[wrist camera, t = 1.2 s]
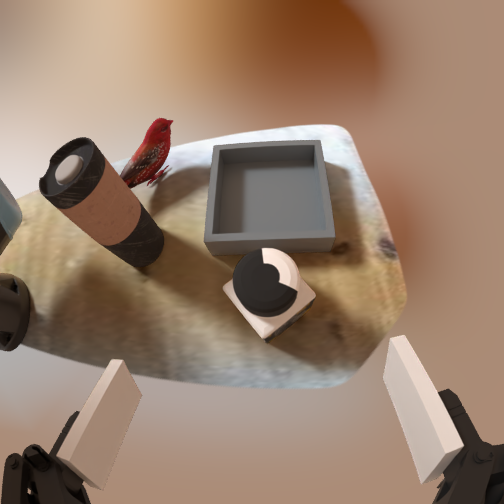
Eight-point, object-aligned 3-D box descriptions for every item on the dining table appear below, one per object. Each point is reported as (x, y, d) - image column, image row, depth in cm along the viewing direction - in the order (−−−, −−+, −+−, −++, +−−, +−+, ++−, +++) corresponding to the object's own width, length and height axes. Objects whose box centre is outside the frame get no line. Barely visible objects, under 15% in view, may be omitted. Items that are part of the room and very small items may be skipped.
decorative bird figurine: (192, 155, 47) (174, 113, 38) (116, 227, 43) (83, 195, 34) (182, 148, 48) (164, 107, 39) (108, 218, 44) (76, 186, 35)
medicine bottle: (267, 344, 34) (258, 334, 23) (232, 301, 37) (209, 272, 26) (311, 308, 35) (323, 281, 24) (275, 267, 38) (270, 224, 27)
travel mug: (174, 248, 41) (103, 160, 22) (133, 279, 39) (42, 212, 21) (152, 213, 43) (86, 125, 25) (115, 242, 42) (35, 169, 24)
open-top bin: (212, 255, 40) (203, 241, 35) (219, 163, 46) (213, 145, 41) (330, 251, 38) (335, 237, 34) (318, 159, 44) (320, 140, 40)
